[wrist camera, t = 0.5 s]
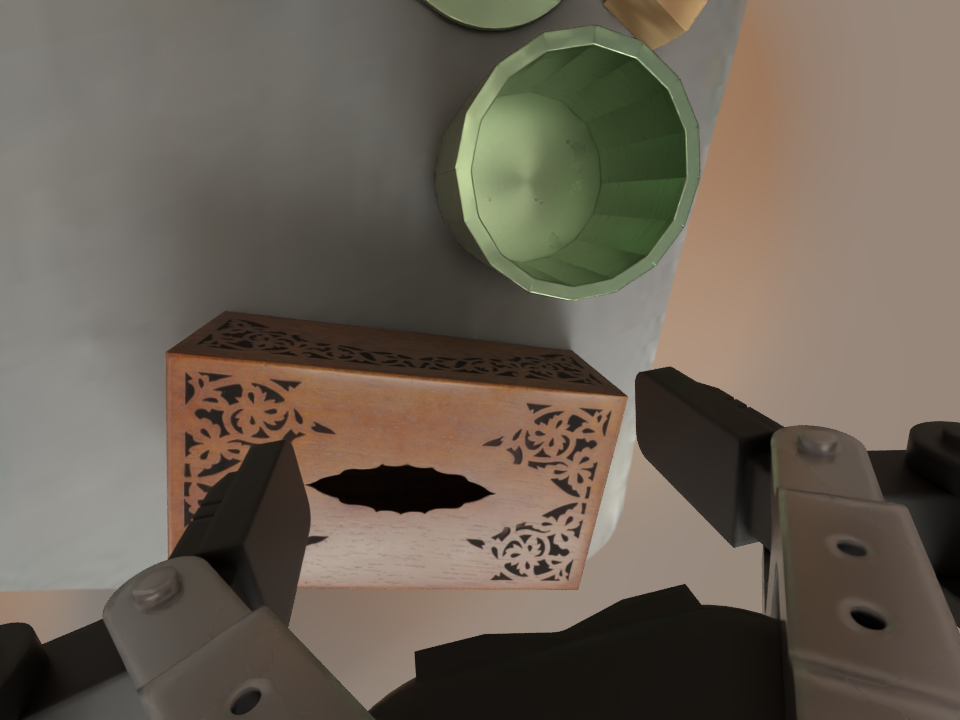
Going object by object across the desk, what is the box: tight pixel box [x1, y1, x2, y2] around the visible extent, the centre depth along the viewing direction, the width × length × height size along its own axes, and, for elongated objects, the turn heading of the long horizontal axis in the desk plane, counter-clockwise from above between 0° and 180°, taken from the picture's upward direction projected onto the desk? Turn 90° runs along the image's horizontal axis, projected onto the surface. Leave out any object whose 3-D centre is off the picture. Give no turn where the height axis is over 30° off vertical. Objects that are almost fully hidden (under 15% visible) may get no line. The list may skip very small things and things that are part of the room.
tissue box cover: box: [166, 311, 628, 590], centre depth 35 cm, size 26×14×10 cm, turn 81°
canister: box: [434, 25, 700, 301], centre depth 30 cm, size 13×13×12 cm
